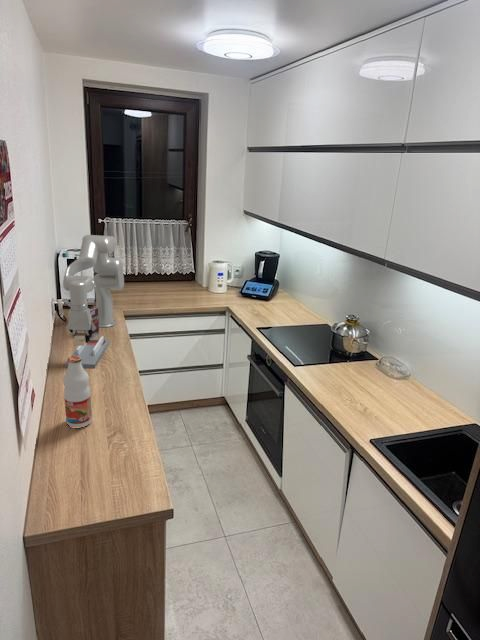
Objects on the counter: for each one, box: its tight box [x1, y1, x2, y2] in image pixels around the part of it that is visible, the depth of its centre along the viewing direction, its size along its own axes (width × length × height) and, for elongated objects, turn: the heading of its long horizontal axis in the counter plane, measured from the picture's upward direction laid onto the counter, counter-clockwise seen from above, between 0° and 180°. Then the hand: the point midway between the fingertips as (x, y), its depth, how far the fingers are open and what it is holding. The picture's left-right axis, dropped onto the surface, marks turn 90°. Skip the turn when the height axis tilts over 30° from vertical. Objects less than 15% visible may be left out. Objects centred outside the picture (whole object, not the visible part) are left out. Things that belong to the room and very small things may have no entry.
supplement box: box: [83, 306, 100, 339], centre depth 247 cm, size 9×5×16 cm, turn 168°
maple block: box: [73, 331, 86, 347], centre depth 212 cm, size 6×4×4 cm
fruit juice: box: [62, 354, 93, 427], centre depth 166 cm, size 9×9×28 cm
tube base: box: [65, 335, 111, 369], centre depth 226 cm, size 31×14×5 cm, turn 3°
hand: (82, 341), depth 214 cm, fingers closed on maple block, 4 cm apart
